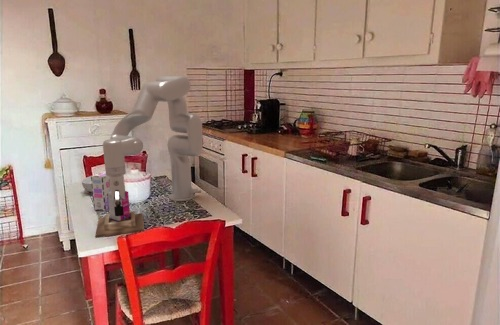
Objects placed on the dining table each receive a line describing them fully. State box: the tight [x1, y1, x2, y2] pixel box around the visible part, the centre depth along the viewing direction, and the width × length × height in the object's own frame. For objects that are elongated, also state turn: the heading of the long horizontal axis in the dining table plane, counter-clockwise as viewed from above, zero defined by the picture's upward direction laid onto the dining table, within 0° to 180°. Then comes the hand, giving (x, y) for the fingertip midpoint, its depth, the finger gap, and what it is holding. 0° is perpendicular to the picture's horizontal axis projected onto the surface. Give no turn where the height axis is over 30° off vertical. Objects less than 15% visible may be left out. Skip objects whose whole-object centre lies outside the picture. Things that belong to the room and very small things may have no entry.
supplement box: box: [108, 190, 131, 222], centre depth 150 cm, size 6×6×12 cm
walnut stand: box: [95, 210, 145, 238], centre depth 152 cm, size 18×18×4 cm
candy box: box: [90, 170, 111, 212], centre depth 174 cm, size 14×6×16 cm, turn 168°
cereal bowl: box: [81, 175, 93, 193], centre depth 196 cm, size 17×17×7 cm
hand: (119, 211), depth 151 cm, fingers closed on supplement box, 7 cm apart
